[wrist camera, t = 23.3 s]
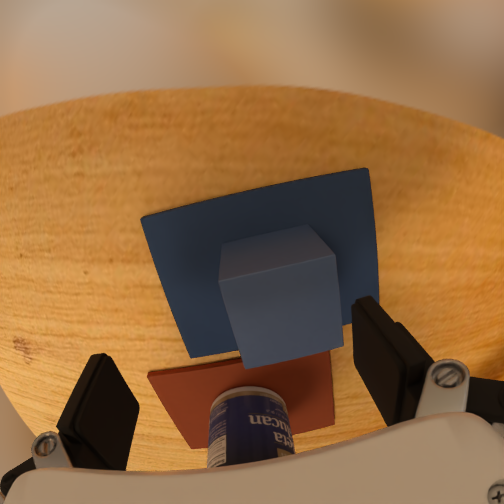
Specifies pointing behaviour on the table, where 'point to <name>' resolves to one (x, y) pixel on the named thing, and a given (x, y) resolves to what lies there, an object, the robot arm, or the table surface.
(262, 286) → the blue block
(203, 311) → the blue mat
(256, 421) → the pill bottle
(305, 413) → the rust mat
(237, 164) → the table surface
